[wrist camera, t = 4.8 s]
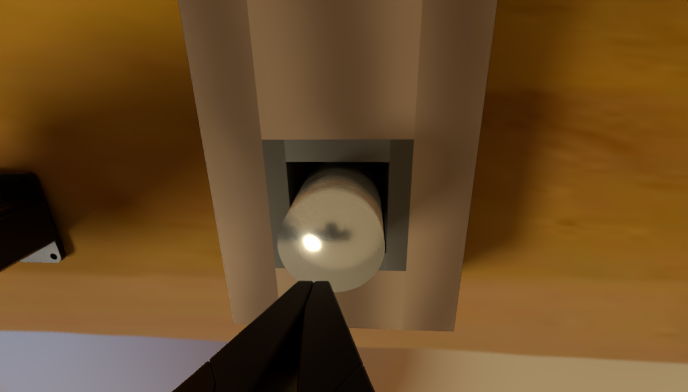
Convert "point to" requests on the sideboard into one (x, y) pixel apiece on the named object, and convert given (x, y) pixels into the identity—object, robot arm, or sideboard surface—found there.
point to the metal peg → (334, 228)
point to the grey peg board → (343, 136)
